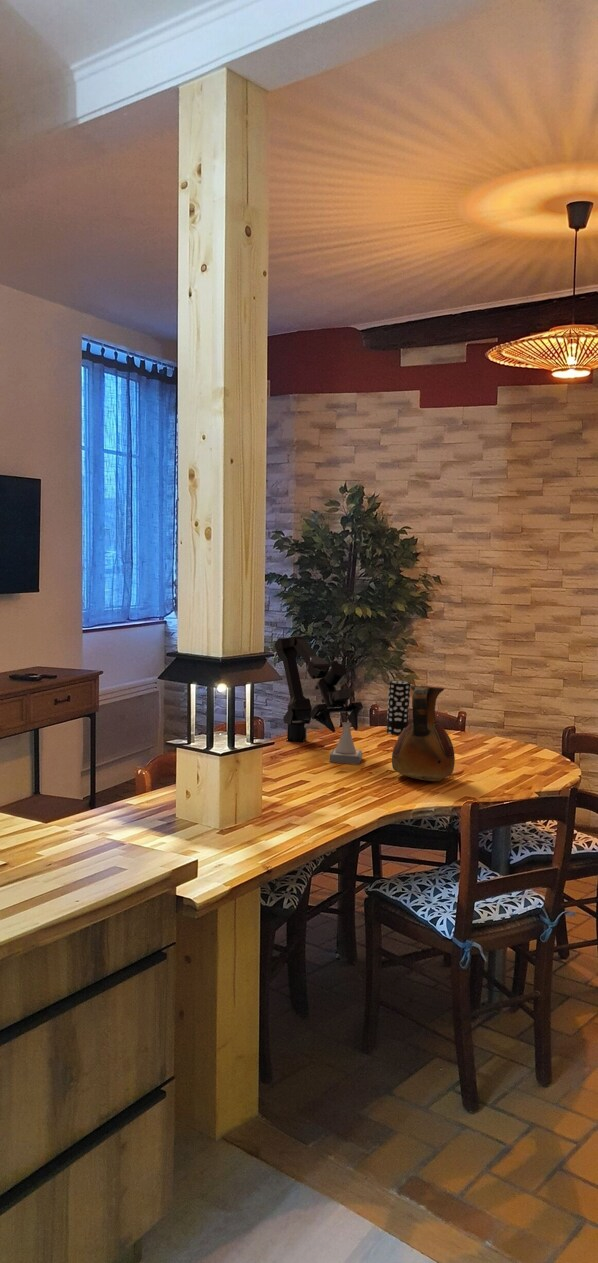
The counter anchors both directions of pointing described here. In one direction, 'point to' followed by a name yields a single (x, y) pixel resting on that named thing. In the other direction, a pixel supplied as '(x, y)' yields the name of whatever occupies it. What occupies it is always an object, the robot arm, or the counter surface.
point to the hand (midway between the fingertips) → (345, 730)
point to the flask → (346, 740)
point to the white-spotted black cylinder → (398, 706)
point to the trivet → (346, 757)
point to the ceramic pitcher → (424, 741)
